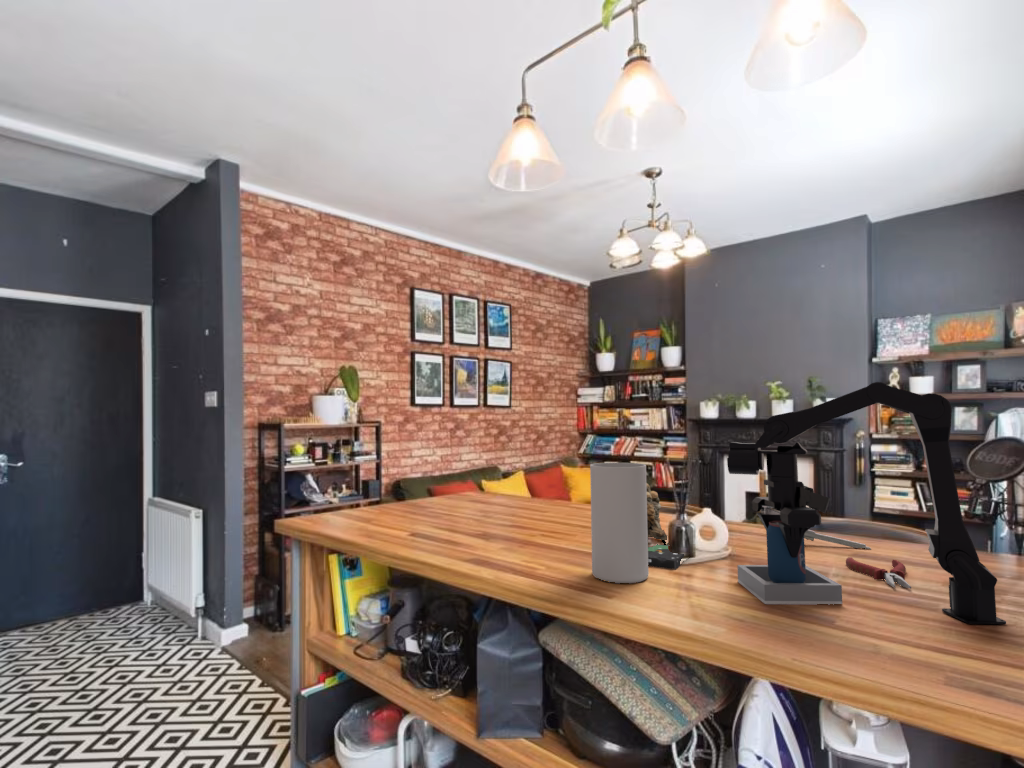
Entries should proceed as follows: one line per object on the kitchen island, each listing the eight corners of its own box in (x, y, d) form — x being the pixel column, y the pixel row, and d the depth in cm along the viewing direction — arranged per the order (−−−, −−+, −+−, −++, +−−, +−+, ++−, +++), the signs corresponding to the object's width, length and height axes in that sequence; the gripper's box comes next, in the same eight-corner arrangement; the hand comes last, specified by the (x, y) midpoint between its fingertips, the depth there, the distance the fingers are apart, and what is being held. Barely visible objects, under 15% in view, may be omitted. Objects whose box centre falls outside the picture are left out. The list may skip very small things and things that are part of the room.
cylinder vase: (604, 566, 134) (602, 462, 135) (655, 573, 127) (653, 463, 129) (583, 579, 123) (581, 466, 125) (638, 588, 117) (635, 468, 118)
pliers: (871, 591, 115) (870, 578, 115) (844, 566, 134) (843, 555, 134) (936, 596, 112) (935, 582, 112) (899, 569, 131) (898, 558, 131)
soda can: (811, 588, 109) (808, 526, 110) (773, 587, 110) (771, 526, 111) (799, 578, 116) (797, 520, 116) (764, 577, 117) (761, 519, 118)
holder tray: (842, 604, 105) (841, 585, 106) (765, 604, 106) (764, 584, 106) (805, 582, 120) (805, 565, 120) (738, 581, 120) (737, 565, 121)
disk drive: (676, 572, 130) (691, 557, 143) (676, 560, 131) (691, 546, 143) (633, 566, 136) (652, 552, 148) (633, 555, 136) (651, 542, 149)
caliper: (786, 544, 156) (785, 522, 156) (786, 544, 157) (785, 521, 157) (871, 550, 148) (870, 526, 149) (870, 549, 149) (869, 525, 150)
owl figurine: (664, 551, 149) (662, 487, 150) (621, 547, 154) (619, 485, 154) (672, 537, 166) (670, 479, 167) (632, 534, 170) (631, 478, 171)
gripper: (847, 480, 105) (852, 564, 104) (800, 471, 123) (804, 542, 122) (787, 481, 105) (791, 565, 104) (749, 471, 124) (752, 542, 123)
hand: (785, 552), depth 113 cm, fingers closed on soda can, 7 cm apart
